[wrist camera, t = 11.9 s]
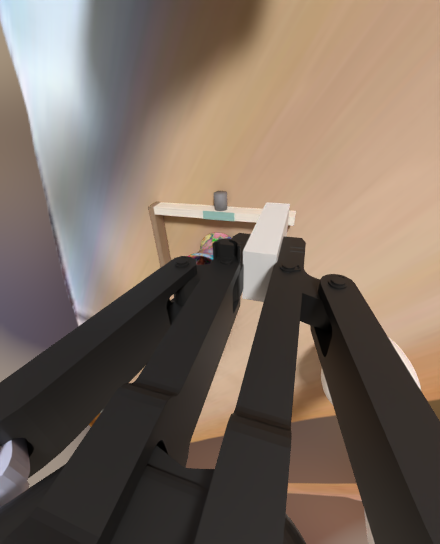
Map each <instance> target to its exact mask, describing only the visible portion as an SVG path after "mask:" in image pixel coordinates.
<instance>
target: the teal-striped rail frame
mask: <svg viewBox="0 0 440 544" xmlns="http://www.w3.org/2000/svg"><path fill="white" fill-rule="evenodd" d="M148 209H149V214H150V219H151V223H152V228H153V233H154V238H155V243H156V248H157V252H158V257H159V262H160V267H162V266H164V265H165V264H167V263H168V262H169V261H171V257H170V252H169V246H168V240H167V235H166V229H165V224H164V218H163V215H168V216H181V217H193V218H203V219H212V220H224V221H243V222H255V223H257V221H258V219H259V217H260V215H261V212H262V210H263V209H258V208H243V207H227V192H226V191H216V192H214V206H212V205H197V204H182V203H166V202H155V203H153V204H151V205H150V206H148ZM295 216H296V211H289V219H288V225H292V226H294V222H295Z"/></svg>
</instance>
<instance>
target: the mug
mask: <svg viewBox="0 0 440 544" xmlns="http://www.w3.org/2000/svg"><path fill="white" fill-rule="evenodd" d="M224 238H230V239H232V238H231V237H229V236H227V235H225V234H223V233H211V234H208V235H207V236H205V237H204V239H203V240H202V242H201V246H200V251H199V252H197V253H195V254H191V255H189V256H188V257H192V258H194V259H195V260H196V265H204V264H210V263H211V262H212V260H213V246H212V243H213V242H215V241H216V240H219V239H224Z"/></svg>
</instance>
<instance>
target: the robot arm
mask: <svg viewBox="0 0 440 544" xmlns="http://www.w3.org/2000/svg"><path fill="white" fill-rule="evenodd" d="M289 209H290V204H284V203H267V202H266V204H265V206H264V208H263V210H262V212H261V215H260V217H259V219H258V221H257V223H256V225H255V227H254V229H253V231H252V233H251V234H244V233H238V234H237V235H235V236H233V238H232V239H230V238H224V239H219V240H216V241H215V242H213V243H212V246H213V260H212V262H211V263H210V264H204V265H196V260H195V259H194V258H192V257H188V256H180V257H177V258H174V259H173V260H171V261H169V262H168V263H167V264H165V265H164V266H162V267H161V268H160V269H158V270H157V271H156V272H154V273H153V274H151V275H150V276H149V277H147V278H146V279H144V280H143V281H142V282H140V283H139V284H137V285H136V286H135V287H133V288H132V289H130V290H129V291H128V292H126V293H125V294H123V295H122V296H121V297H119V298H118V299H116V300H115V301H114V302H112V303H111V304H109V305H108V306H107V307H105V308H104V309H102V310H101V311H100V312H98V313H97V314H95V315H94V316H93V317H91V318H90V319H88V320H87V321H86V322H84V323H83V324H81V325H80V326H79V327H77V328H76V329H75V330H73V331H72V332H70V333H69V334H67V335H66V336H65V337H63V338H62V339H61V340H59V341H58V342H56V343H55V344H53V345H52V346H51V347H49V348H48V349H46V350H45V351H44V352H42V353H41V354H39V355H38V356H37V357H35V358H34V359H33V360H31V361H30V362H28V363H27V364H26V365H24V366H23V367H22V368H20V369H19V370H17V371H16V372H14V373H13V374H12V375H10V376H9V377H7V378H6V379H5V380H3V381H2V382H0V544H306V543H305V541H304V539H303V538H302V536H301V534H300V532H299V531H298V529H297V528H296V526H295V525H294V523H293V522H292V520H291V519H290V518H289V517H288V516H287V514H286V513H285V512H286V499H287V488H288V475H289V463H290V451H291V417H292V405H293V394H294V382H295V371H296V359H297V347H298V336H299V324H300V321H302V322H304V323H306V324H309V325H311V333H312V336H313V339H314V343H315V346H316V349H317V353H318V356H319V359H320V363H321V366H322V369H323V373H324V376H325V379H326V383H327V386H328V389H329V393H330V396H331V399H332V403H333V406H334V409H335V413H336V416H337V419H338V423H339V426H340V429H341V433H342V436H343V439H344V442H345V446H346V449H347V452H348V456H349V459H350V462H351V466H352V469H353V473H354V476H355V479H356V483H357V486H358V489H359V493H360V496H361V499H362V503H363V506H364V509H365V513H366V516H367V519H368V523H369V526H370V529H371V533H372V536H373V539H374V543H375V544H440V421H439V419H438V418H437V416H436V415H435V413H434V411H433V410H432V408H431V406H430V405H429V403H428V401H427V400H426V398H425V397H424V395H423V393H422V392H421V390H420V388H419V387H418V385H417V384H416V382H415V380H414V379H413V377H412V375H411V374H410V372H409V371H408V369H407V367H406V366H405V364H404V362H403V361H402V359H401V358H400V356H399V354H398V353H397V351H396V349H395V348H394V346H393V345H392V343H391V341H390V340H389V338H388V336H387V335H386V333H385V332H384V330H383V328H382V327H381V325H380V323H379V322H378V320H377V319H376V317H375V315H374V314H373V312H372V310H371V309H370V307H369V306H368V304H367V302H366V301H365V299H364V297H363V296H362V294H361V293H360V291H359V289H358V288H357V286H356V284H355V283H354V282H353V281H352V280H351V279H349V278H347V277H345V276H342V275H337V274H329V275H325V276H323V277H322V278H321V279H320V280H319V279H316V278H314V277H312V276H310V275H308V274H307V273H306V272H305V270H304V256H305V245H306V243H305V241H304V240H303V239H302V238H294V237H287V228H288V219H289ZM242 291H243V299H249V300H256V301H262V302H264V304H263V307H262V311H261V315H260V318H259V322H258V326H257V330H256V333H255V337H254V341H253V345H252V348H251V352H250V356H249V360H248V363H247V367H246V371H245V375H244V378H243V382H242V386H241V390H240V393H239V397H238V401H237V405H236V408H235V411H234V413H233V414H231V416H230V418H229V421H228V424H227V427H226V431H225V434H224V438H223V442H222V445H221V449H220V453H219V456H218V459H217V463H216V467H215V469H191V468H185V467H186V462H187V459H188V452H189V445H190V441H191V438H192V435H193V432H194V430H195V427H196V424H197V421H198V419H199V416H200V413H201V411H202V408H203V405H204V402H205V400H206V397H207V394H208V391H209V389H210V386H211V383H212V381H213V378H214V375H215V372H216V370H217V367H218V364H219V361H220V359H221V356H222V353H223V351H224V348H225V345H226V342H227V340H228V337H229V334H230V331H231V329H232V326H233V323H234V321H235V318H236V315H237V312H238V310H239V307H240V296H241V294H242ZM173 294H174V298H173V299H172V300H170V299H169V298H170V297H171V296H172V295H173ZM145 365H146V366H145ZM144 366H145V367H144ZM143 367H144V369H143V370H142V372H141V374H140V375H139V377H138V378H137V379H136V381H135V382H133V383H129V382H130V381H131V380H132V379H133V378H134V377H135V376H136V375H137V374H138V373H139V372H140V370H141V369H142V368H143ZM102 410H103V411H102ZM101 411H102V412H101ZM100 412H101V414H100V415H99V416H98V418H97V419H96V421H95V422H94V424H93V425H92V427H91V428H90V430H89V431H88V433H87V434H86V436H85V437H84V439H83V440H82V442H81V443H80V444H79V446H78V447H77V449H76V450H75V452H74V453H73V455H72V456H71V458H70V459H69V461H68V462H67V463H66V464H65V465H64V466H62V467H61V468H59V469H58V470H56V471H55V472H53V473H52V474H50V475H49V476H47V477H45V478H44V479H43V480H41V481H39V482H38V483H36V484H35V485H33V486H32V487H30V488H29V483H28V482H27V480H28V478H29V477H30V476H32V475H33V474H35V473H36V472H38V471H39V470H40V469H42V468H43V467H44V466H45V465H46V464H48V463H49V462H50V461H51V460H53V458H55V457H56V456H57V455H58V454H59V453H61V452H62V451H63V450H64V449H65V448H66V447H67V446H68V445H69V444H70V443H71V442H72V441H73V440H74V439H75V438H76V437H77V436H78V435H79V434H80V433H81V432H82V431H83V430H84V429H85V428H86V427H87V426H88V425H89V424H90V423H91V422H92V421H93V419H94V418H95V417H96V416H97V415H98V414H99V413H100Z"/></svg>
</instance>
